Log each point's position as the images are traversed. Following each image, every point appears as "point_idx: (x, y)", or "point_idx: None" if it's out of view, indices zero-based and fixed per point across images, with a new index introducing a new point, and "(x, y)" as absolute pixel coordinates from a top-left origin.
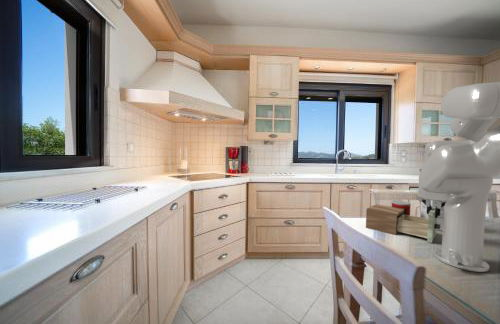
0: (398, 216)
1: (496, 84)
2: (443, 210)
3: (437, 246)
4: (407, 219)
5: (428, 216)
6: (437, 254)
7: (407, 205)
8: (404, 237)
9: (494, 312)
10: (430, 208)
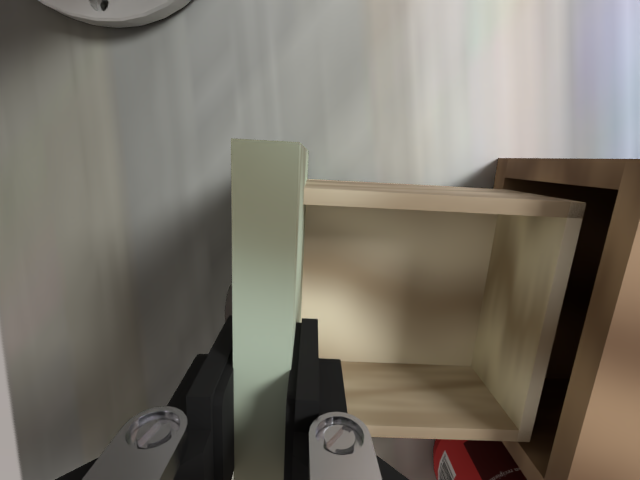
0: (544, 426)
1: None
2: None
3: (248, 118)
4: (471, 399)
5: (315, 319)
6: None
7: None
8: (441, 149)
9: None
10: (293, 391)
